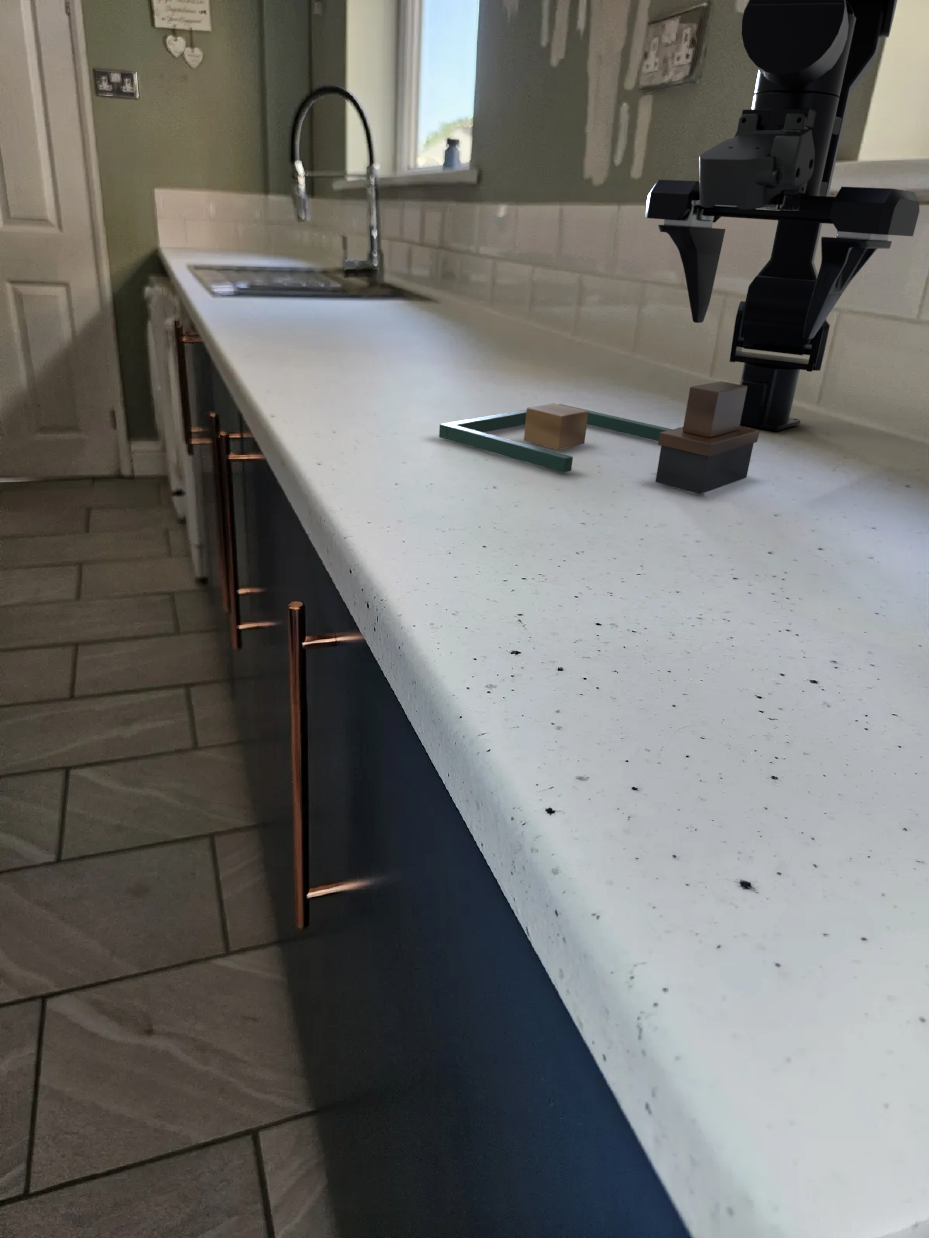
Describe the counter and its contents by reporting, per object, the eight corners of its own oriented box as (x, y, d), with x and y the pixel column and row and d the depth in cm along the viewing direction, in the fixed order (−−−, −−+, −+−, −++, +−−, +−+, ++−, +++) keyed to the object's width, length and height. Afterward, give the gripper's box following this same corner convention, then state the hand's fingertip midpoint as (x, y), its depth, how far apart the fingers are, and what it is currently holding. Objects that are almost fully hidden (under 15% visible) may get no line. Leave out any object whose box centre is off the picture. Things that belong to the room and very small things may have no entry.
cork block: (549, 435, 82) (553, 403, 81) (584, 444, 79) (588, 411, 78) (523, 440, 79) (526, 407, 78) (558, 450, 77) (562, 416, 75)
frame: (558, 415, 91) (559, 403, 90) (677, 443, 82) (679, 430, 82) (438, 437, 78) (439, 424, 78) (564, 473, 70) (565, 458, 69)
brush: (702, 466, 75) (718, 377, 72) (750, 478, 72) (769, 386, 69) (651, 482, 69) (666, 386, 66) (701, 495, 66) (719, 396, 63)
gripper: (620, 86, 61) (592, 319, 68) (893, 75, 50) (827, 356, 57) (698, 105, 68) (666, 313, 75) (951, 100, 57) (887, 345, 64)
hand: (750, 330), depth 68 cm, fingers open, 9 cm apart
